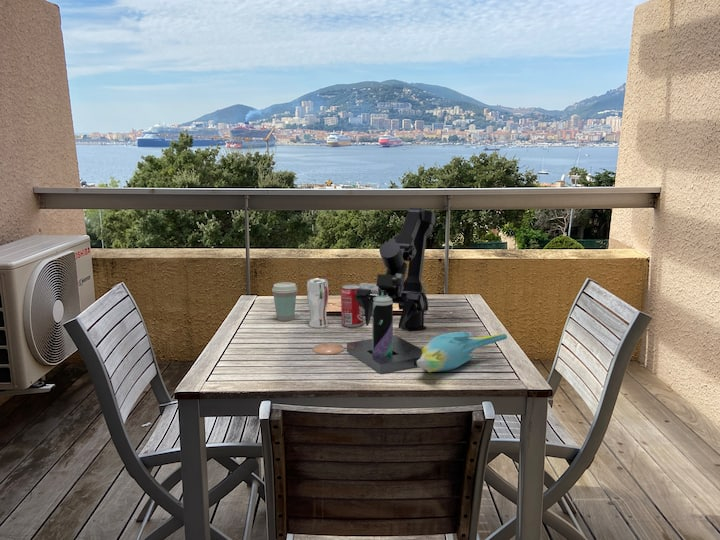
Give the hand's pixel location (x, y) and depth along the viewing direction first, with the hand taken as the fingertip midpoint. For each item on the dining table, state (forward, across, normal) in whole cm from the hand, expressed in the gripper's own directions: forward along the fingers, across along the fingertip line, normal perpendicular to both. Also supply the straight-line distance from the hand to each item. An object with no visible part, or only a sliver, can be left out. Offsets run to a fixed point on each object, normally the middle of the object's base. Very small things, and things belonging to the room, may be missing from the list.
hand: (382, 326), depth 166 cm
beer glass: (-11, -30, +25) cm, 41 cm away
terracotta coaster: (+4, -18, +10) cm, 21 cm away
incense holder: (-25, -18, +38) cm, 49 cm away
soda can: (-14, -20, +28) cm, 37 cm away
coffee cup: (-14, -44, +28) cm, 53 cm away
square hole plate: (+5, +1, +9) cm, 10 cm away
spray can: (+7, 0, +7) cm, 10 cm away
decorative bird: (+8, +22, +6) cm, 24 cm away
